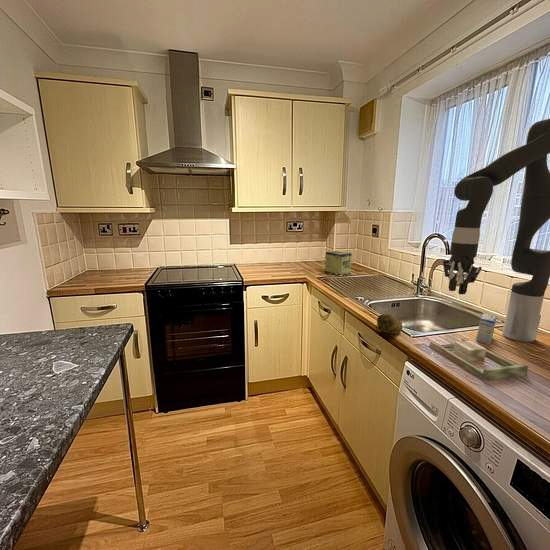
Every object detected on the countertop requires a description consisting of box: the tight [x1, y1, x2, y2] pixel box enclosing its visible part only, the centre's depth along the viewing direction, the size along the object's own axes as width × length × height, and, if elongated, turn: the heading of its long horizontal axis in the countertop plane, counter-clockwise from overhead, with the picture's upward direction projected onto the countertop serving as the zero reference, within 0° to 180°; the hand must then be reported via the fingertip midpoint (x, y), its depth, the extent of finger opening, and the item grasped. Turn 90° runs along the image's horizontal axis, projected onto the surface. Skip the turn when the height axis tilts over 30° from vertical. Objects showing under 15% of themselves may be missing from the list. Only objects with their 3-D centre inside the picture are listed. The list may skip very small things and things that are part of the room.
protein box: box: [324, 250, 353, 276], centre depth 213 cm, size 10×16×16 cm
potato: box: [376, 313, 403, 335], centre depth 113 cm, size 8×13×8 cm, turn 112°
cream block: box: [453, 340, 487, 362], centre depth 97 cm, size 6×6×4 cm
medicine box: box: [475, 313, 497, 345], centre depth 109 cm, size 8×4×9 cm, turn 141°
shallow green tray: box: [429, 337, 529, 381], centre depth 95 cm, size 14×22×3 cm, turn 12°
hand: (456, 292), depth 101 cm, fingers open, 3 cm apart
